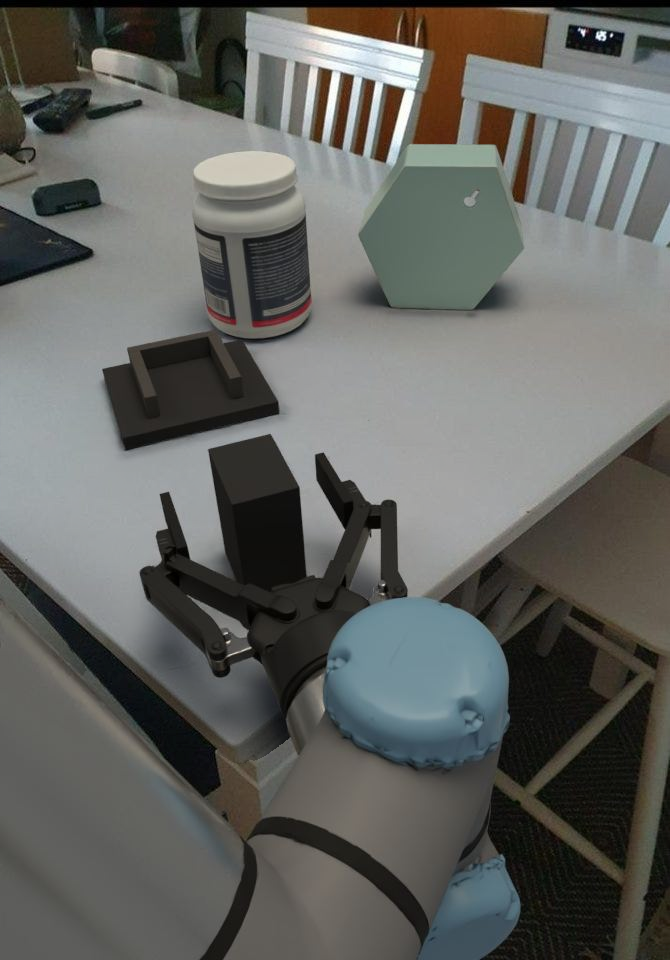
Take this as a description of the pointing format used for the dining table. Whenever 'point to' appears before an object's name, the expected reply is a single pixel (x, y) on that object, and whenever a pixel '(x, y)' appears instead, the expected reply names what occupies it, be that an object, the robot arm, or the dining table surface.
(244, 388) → the base pad
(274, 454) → the tall dark brick
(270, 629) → the robot arm
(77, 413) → the dining table surface
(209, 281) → the supplement tub
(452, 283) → the green hexagonal block
